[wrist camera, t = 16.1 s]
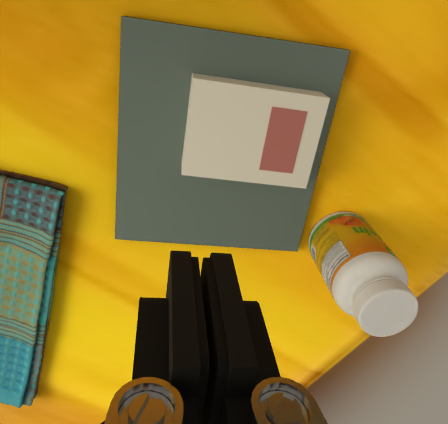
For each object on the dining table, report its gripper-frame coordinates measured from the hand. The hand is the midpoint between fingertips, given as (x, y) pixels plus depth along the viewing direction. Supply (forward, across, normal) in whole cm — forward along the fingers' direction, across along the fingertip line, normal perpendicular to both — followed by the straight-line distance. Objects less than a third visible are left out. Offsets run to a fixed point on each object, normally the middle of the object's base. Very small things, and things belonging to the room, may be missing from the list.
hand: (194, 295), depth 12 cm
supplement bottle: (+20, -14, +9) cm, 26 cm away
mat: (+20, -4, +2) cm, 20 cm away
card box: (+18, 0, 0) cm, 18 cm away
